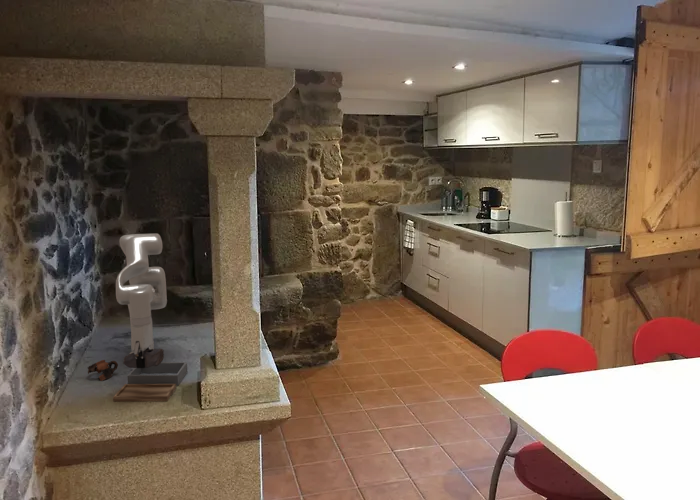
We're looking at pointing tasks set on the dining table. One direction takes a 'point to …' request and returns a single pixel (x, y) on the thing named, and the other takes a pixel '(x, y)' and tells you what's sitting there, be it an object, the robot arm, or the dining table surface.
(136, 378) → the charcoal bin
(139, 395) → the walnut tray
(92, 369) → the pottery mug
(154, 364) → the perforated stone tool
